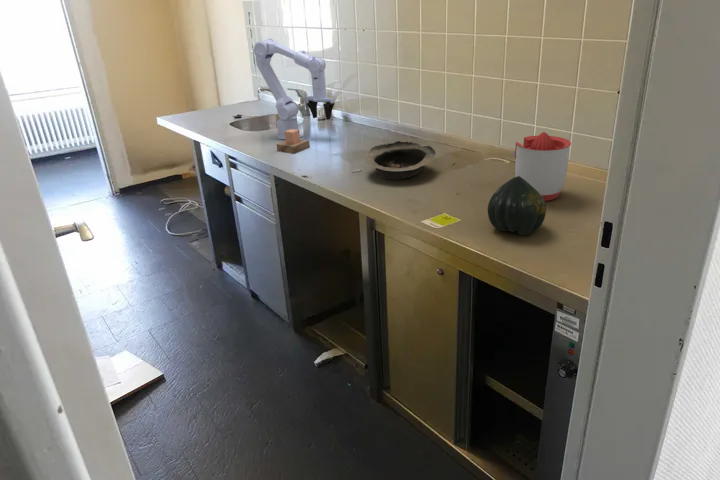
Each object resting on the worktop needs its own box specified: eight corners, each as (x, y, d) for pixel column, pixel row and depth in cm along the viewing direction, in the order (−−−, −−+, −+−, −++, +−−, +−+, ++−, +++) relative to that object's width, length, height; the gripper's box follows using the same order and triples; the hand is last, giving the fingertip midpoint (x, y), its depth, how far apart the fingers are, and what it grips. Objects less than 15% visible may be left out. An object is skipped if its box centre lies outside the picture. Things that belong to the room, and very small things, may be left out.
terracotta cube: (285, 143, 232) (284, 131, 230) (292, 140, 235) (291, 129, 233) (294, 144, 230) (292, 132, 227) (300, 141, 233) (299, 129, 231)
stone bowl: (414, 158, 210) (415, 136, 205) (446, 182, 189) (448, 157, 185) (355, 168, 202) (355, 145, 198) (382, 193, 182) (382, 168, 177)
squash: (513, 229, 135) (541, 176, 135) (469, 214, 146) (495, 166, 147) (539, 250, 144) (564, 200, 144) (495, 235, 155) (519, 189, 156)
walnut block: (277, 152, 233) (276, 144, 231) (292, 146, 240) (291, 138, 239) (295, 154, 228) (294, 146, 226) (310, 148, 235) (309, 140, 233)
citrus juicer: (520, 182, 179) (524, 122, 171) (572, 191, 169) (580, 128, 161) (498, 197, 169) (502, 134, 160) (553, 208, 158) (560, 141, 150)
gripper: (300, 88, 237) (303, 119, 243) (326, 89, 229) (329, 121, 235) (310, 85, 242) (313, 115, 248) (336, 86, 234) (338, 118, 240)
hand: (321, 118), depth 242 cm, fingers open, 7 cm apart
